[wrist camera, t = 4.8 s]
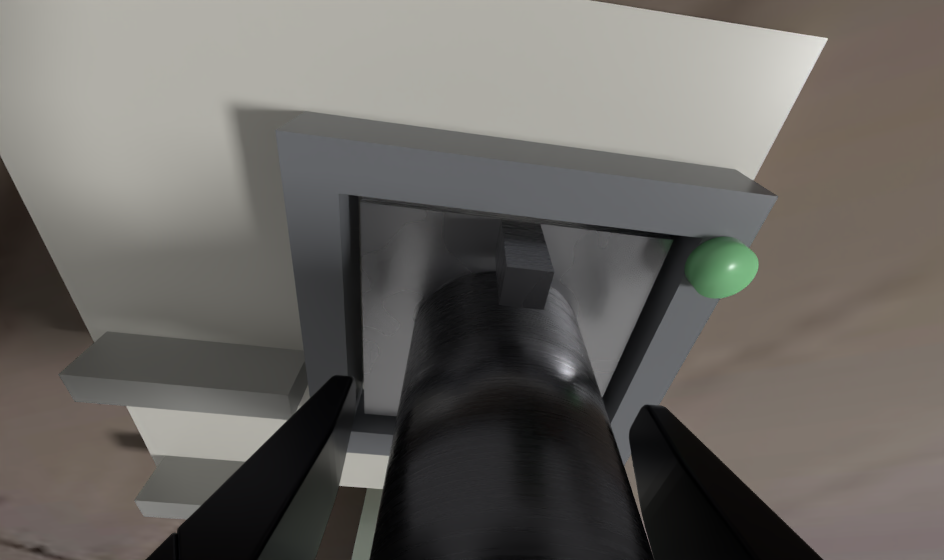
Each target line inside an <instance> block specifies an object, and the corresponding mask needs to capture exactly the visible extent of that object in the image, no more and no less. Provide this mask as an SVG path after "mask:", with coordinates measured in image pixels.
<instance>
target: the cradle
mask: <svg viewBox="0 0 944 560" xmlns="http://www.w3.org/2000/svg"><path fill="white" fill-rule="evenodd" d="M360 222H361V269H362V316H363V364H364V411H365V414H376V415H387V416H397V412H398V407H399V402H400V396H401V391H402V386H403V381H404V375H405V370H406V365H407V360H408V354H409V349H410V344H411V339H412V333H413V328H414V323H415V320H416V317H417V315H418V313H419V311H420V309H421V307H422V306H423V305H424V303H425V302H426V301H427V299H428V298H429V297H430V296H431V295H432V294H433V293H435V292H436V291H437V290H439V289H440V288H441V287H443V286H444V285H446V284H448V283H450V282H451V281H453V280H456V279H458V278H461V277H463V276H467V275H470V274H474V273H480V272H486V271H496V275H497V288H498V301H499V305H502V306H511V307H520V308H530V309H539V310H544V307H545V304H546V300H547V297H548V293H549V290H550V286H552V287H553V288H555V289H556V290H557V291H558V292H560V293H561V294H562V295H563V297H564V298H565V299H566V300H567V301H568V303H569V304H570V306H571V307H572V309H573V311H574V313H575V316H576V319H577V322H578V325H579V328H580V331H581V334H582V337H583V340H584V343H585V347H586V350H587V353H588V356H589V359H590V362H591V365H592V368H593V371H594V374H595V378H596V381H597V384H598V387H599V390H600V393H601V396H602V397H603V395H604V393H605V391H606V388H607V386H608V384H609V382H610V380H611V377H612V375H613V373H614V371H615V368H616V366H617V364H618V362H619V360H620V357H621V355H622V353H623V351H624V349H625V346H626V344H627V342H628V340H629V338H630V335H631V333H632V331H633V329H634V326H635V324H636V322H637V320H638V318H639V315H640V313H641V311H642V309H643V307H644V304H645V302H646V300H647V298H648V295H649V293H650V291H651V289H652V287H653V284H654V282H655V280H656V278H657V276H658V273H659V271H660V269H661V267H662V265H663V262H664V260H665V258H666V256H667V253H668V251H669V249H670V247H671V245H672V242H673V239H672V238H671V237H670V236H669V234H664V233H656V232H648V231H640V230H632V229H623V228H615V227H607V226H599V225H591V224H583V223H575V222H567V221H558V220H550V219H542V218H534V217H526V216H518V215H510V214H502V213H493V212H485V211H477V210H469V209H461V208H453V207H445V206H437V205H429V204H420V203H412V202H404V201H396V200H388V199H380V198H372V197H364V196H363V198H362V200H361V201H360Z"/></svg>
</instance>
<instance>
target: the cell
mask: <svg viewBox="0 0 944 560" xmlns="http://www.w3.org/2000/svg"><path fill="white" fill-rule="evenodd" d="M369 560H654V558H653V555H652V552H651V548H650V545H649V542H648V539H647V536H646V533H645V530H644V527H643V524H642V520H641V517H640V514H639V511H638V508H637V505H636V502H635V499H634V496H633V493H632V489H631V486H630V483H629V480H628V477H627V474H626V471H625V468H624V465H623V461H622V458H621V455H620V452H619V449H618V446H617V443H616V440H615V437H614V433H613V430H612V427H611V424H610V421H609V418H608V415H607V412H606V409H605V406H604V402H603V399H602V396H601V393H600V390H599V387H598V384H597V381H596V378H595V374H594V371H593V368H592V365H591V362H590V359H589V356H588V353H587V350H586V347H585V343H584V340H583V337H582V334H581V331H580V328H579V325H578V322H577V319H576V316H575V313H574V311H573V309H572V307H571V306H570V304H569V303H568V301H567V300H566V299H565V298H564V297H563V295H562V294H561V293H560V292H558V291H557V290H556V289H555V288H553V287H552V286H550V290H549V293H548V297H547V300H546V304H545V307H544V310H539V309H530V308H520V307H511V306H502V305H499V301H498V288H497V275H496V271H486V272H480V273H474V274H470V275H467V276H463V277H461V278H458V279H456V280H453V281H451V282H450V283H448V284H446V285H444V286H443V287H441V288H440V289H439V290H437V291H436V292H435V293H433V294H432V295H431V296H430V297H429V298H428V299H427V301H426V302H425V303H424V305H423V306H422V307H421V309H420V311H419V313H418V315H417V317H416V320H415V323H414V328H413V333H412V339H411V344H410V349H409V354H408V360H407V365H406V370H405V375H404V381H403V386H402V391H401V396H400V402H399V407H398V412H397V417H396V423H395V428H394V433H393V438H392V444H391V449H390V454H389V460H388V465H387V470H386V475H385V481H384V486H383V491H382V496H381V502H380V507H379V512H378V517H377V523H376V528H375V533H374V538H373V544H372V549H371V554H370V559H369Z"/></svg>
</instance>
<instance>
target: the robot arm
mask: <svg viewBox="0 0 944 560" xmlns="http://www.w3.org/2000/svg"><path fill="white" fill-rule="evenodd" d="M355 411H356V387H355V379H354V377H352V376H343V375H334V376H332V377H331V378H330V379H329V380H328V381H327V382H326V383H325V384H324V385H323V386H322V387H321V388H320V389H319V390H318V391H317V392H316V393H315V394H313V395H312V396H311V397H310V398H309V399H308V400H307V401H306V402H305V403H304V404H303V405H302V406H301V407H300V408H299V409H298V410H297V411H296V412H295V413H294V414H293V415H292V416H291V417H290V418H289V419H288V420H287V421H286V422H285V423H284V424H283V425H282V426H281V427H280V428H279V429H278V430H277V431H276V432H275V433H274V434H273V435H272V436H271V437H270V438H269V439H268V440H267V441H266V442H265V443H264V444H263V445H262V446H261V447H260V448H259V449H258V450H257V451H256V452H255V453H254V454H253V455H252V456H251V457H250V458H249V459H248V460H247V461H246V462H245V463H244V464H243V465H242V466H241V467H239V468H238V469H237V470H236V471H235V472H234V473H233V474H232V475H231V476H230V477H229V478H228V479H227V480H226V481H225V482H224V483H223V484H222V485H221V486H220V487H219V488H218V489H217V490H216V491H215V492H214V493H213V494H212V495H211V496H210V497H209V498H208V499H207V500H206V501H205V502H204V503H203V504H202V505H201V506H200V507H199V508H198V509H197V510H196V511H195V512H194V513H193V514H192V515H191V516H190V517H189V518H188V519H187V520H186V521H185V522H184V523H183V524H182V525H181V526H180V527H179V528H178V530H177V533H172V534H171V535H170V536H169V537H168V538H167V539H166V540H165V541H164V542H163V543H162V544H161V545H160V546H159V547H158V548H157V549H156V550H155V551H154V552H153V553H152V554H151V555H150V556H149V557H148V558H147V559H146V560H315V557H316V554H317V551H318V549H319V546H320V543H321V540H322V537H323V534H324V531H325V528H326V525H327V522H328V519H329V516H330V513H331V510H332V507H333V504H334V501H335V498H336V495H337V492H338V488H339V484H340V480H341V476H342V471H343V467H344V462H345V457H346V453H347V448H348V444H349V439H350V435H351V430H352V425H353V421H354V416H355ZM629 443H630V449H631V455H632V461H633V467H634V473H635V478H636V484H637V490H638V496H639V502H640V507H641V512H642V516H643V520H644V524H645V528H646V532H647V535H648V539H649V542H650V546H651V550H652V553H653V557H654V560H823V559H822V558H821V557H820V556H819V555H818V554H817V553H816V552H815V551H814V550H813V549H812V548H811V547H810V546H809V545H808V544H807V543H806V542H805V541H803V540H802V539H801V538H800V537H799V536H798V535H797V534H796V533H795V532H794V531H793V530H792V529H791V528H790V527H789V526H788V525H787V524H786V523H785V522H784V521H783V520H782V519H781V518H780V517H779V516H778V515H777V514H776V513H775V512H773V511H772V510H771V509H770V508H769V507H768V506H767V505H766V504H765V503H764V502H763V501H762V500H761V499H760V498H759V497H758V496H757V495H756V494H755V493H754V492H753V491H752V490H751V489H750V488H749V487H748V486H747V485H746V484H745V483H744V482H742V481H741V480H740V479H739V478H738V477H737V476H736V475H735V474H734V473H733V472H732V471H731V470H730V469H729V468H728V467H727V466H726V465H725V464H724V463H723V462H722V461H721V460H720V459H719V458H718V457H717V456H716V455H715V454H714V453H712V452H711V451H710V450H709V449H708V448H707V447H706V446H705V445H704V444H703V443H702V442H701V441H700V440H699V439H698V438H697V437H696V436H695V435H694V434H693V433H692V432H691V431H690V430H689V429H688V428H687V427H686V426H685V425H684V424H682V423H681V422H680V421H679V420H678V419H677V418H676V417H675V416H674V415H673V414H672V413H671V412H670V411H669V410H668V409H667V408H665V407H663V406H659V405H649V404H646V405H644V406H642V407H641V409H640V411H639V412H638V414H637V416H636V418H635V420H634V422H633V424H632V425H631V427H630V430H629Z"/></svg>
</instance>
